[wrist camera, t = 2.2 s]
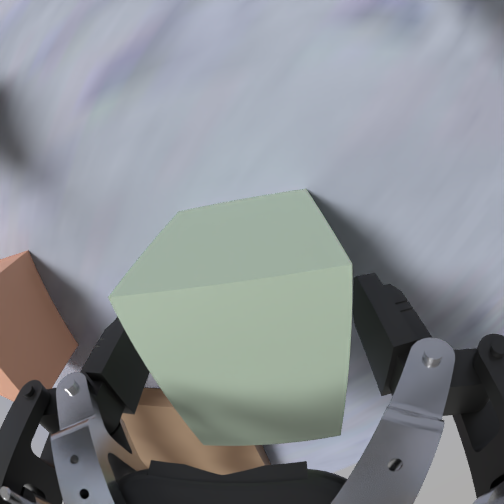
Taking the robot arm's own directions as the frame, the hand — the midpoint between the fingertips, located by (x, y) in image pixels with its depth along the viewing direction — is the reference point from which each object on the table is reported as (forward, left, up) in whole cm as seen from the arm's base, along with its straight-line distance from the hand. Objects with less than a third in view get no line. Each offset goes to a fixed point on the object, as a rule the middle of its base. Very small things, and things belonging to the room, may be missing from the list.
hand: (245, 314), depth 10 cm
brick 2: (0, 0, -2) cm, 2 cm away
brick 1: (+15, 0, -2) cm, 15 cm away
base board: (+10, +15, -2) cm, 18 cm away
